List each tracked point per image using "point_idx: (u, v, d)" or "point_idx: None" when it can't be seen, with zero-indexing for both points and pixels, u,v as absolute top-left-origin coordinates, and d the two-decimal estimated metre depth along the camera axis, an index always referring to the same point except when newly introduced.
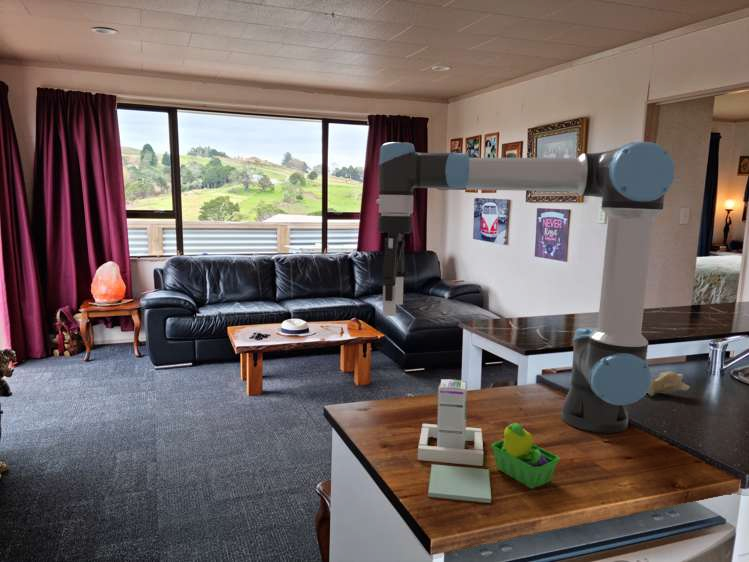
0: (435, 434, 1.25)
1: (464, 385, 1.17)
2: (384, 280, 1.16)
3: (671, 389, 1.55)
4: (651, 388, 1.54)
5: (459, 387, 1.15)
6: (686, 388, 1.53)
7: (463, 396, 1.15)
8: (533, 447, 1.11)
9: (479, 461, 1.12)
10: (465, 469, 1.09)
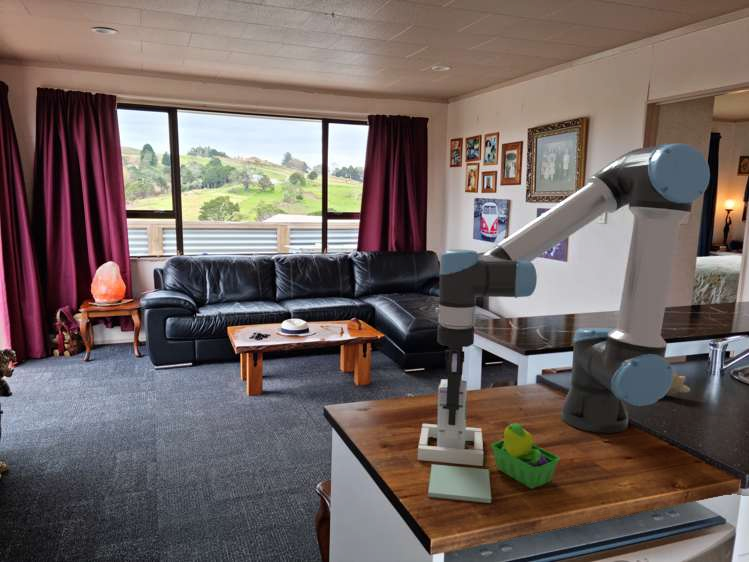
0: (435, 434, 1.25)
1: (464, 385, 1.17)
2: (448, 407, 1.12)
3: (671, 391, 1.53)
4: None
5: (459, 387, 1.15)
6: (687, 390, 1.52)
7: (463, 396, 1.15)
8: (533, 447, 1.11)
9: (479, 461, 1.12)
10: (465, 469, 1.09)
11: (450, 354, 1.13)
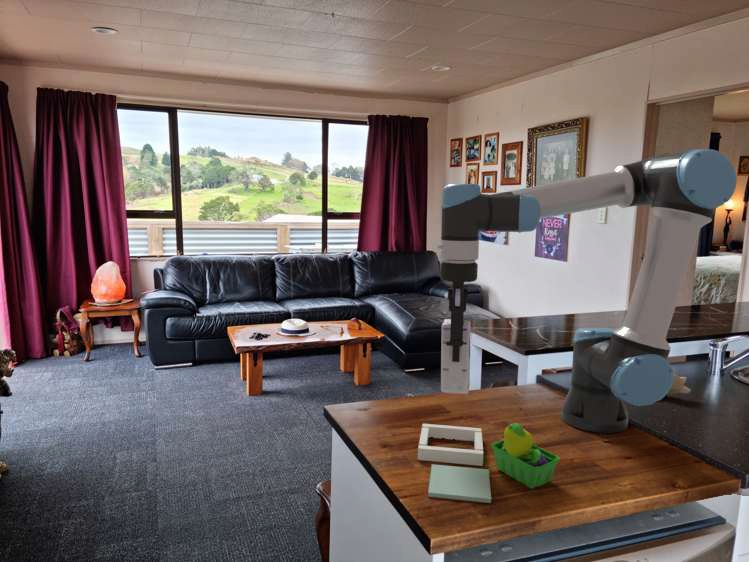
0: (435, 434, 1.25)
1: (468, 323, 1.15)
2: (452, 342, 1.10)
3: (671, 391, 1.53)
4: None
5: (463, 324, 1.13)
6: (687, 391, 1.51)
7: (467, 333, 1.13)
8: (533, 447, 1.11)
9: (479, 461, 1.12)
10: (465, 469, 1.09)
11: (453, 289, 1.11)
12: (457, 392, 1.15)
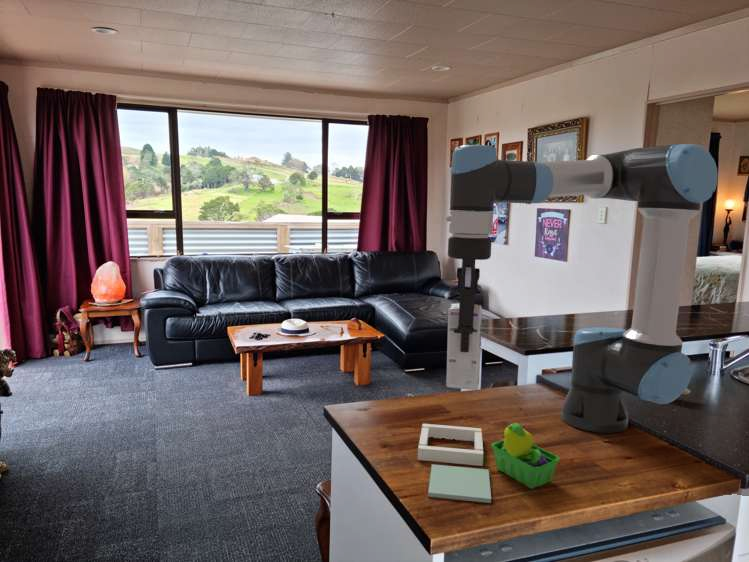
0: (435, 434, 1.25)
1: (479, 307, 1.00)
2: (461, 329, 0.95)
3: None
4: None
5: None
6: (686, 392, 1.50)
7: (478, 318, 0.97)
8: (533, 447, 1.11)
9: (479, 461, 1.12)
10: (465, 469, 1.09)
11: (463, 267, 0.96)
12: (465, 387, 1.00)
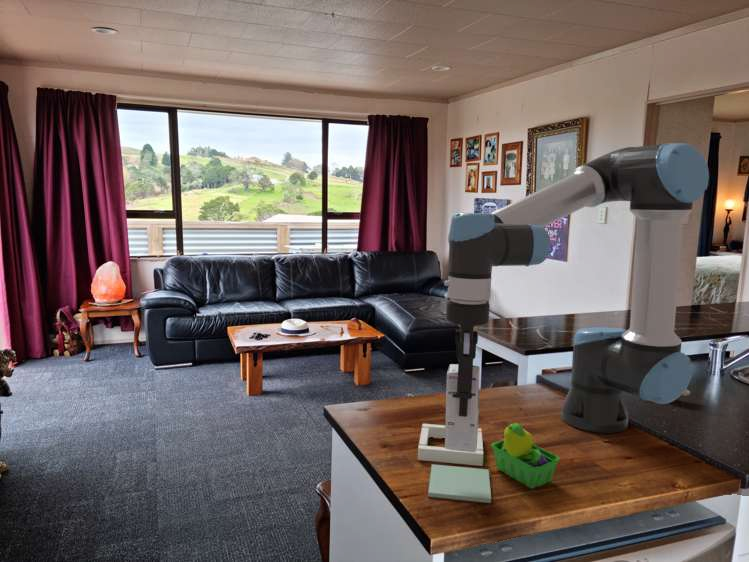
0: (435, 434, 1.25)
1: (477, 370, 1.01)
2: (460, 395, 0.95)
3: None
4: None
5: None
6: (686, 393, 1.49)
7: (476, 383, 0.98)
8: (533, 447, 1.11)
9: (479, 461, 1.12)
10: (465, 469, 1.09)
11: (461, 333, 0.97)
12: (463, 449, 1.01)
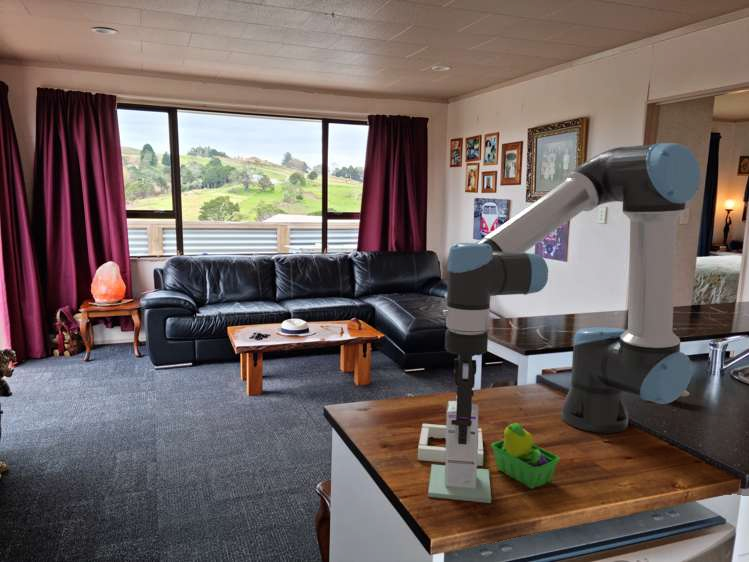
0: (435, 434, 1.25)
1: (476, 408, 1.02)
2: (459, 422, 0.93)
3: None
4: None
5: (471, 411, 1.00)
6: (685, 394, 1.48)
7: (475, 421, 0.99)
8: (533, 447, 1.11)
9: (479, 461, 1.12)
10: None
11: (460, 362, 0.98)
12: (463, 487, 1.01)
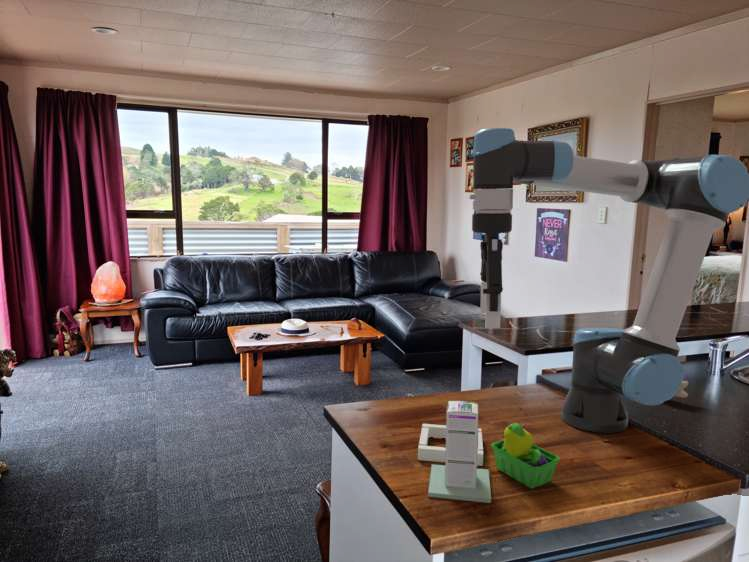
0: (435, 434, 1.25)
1: (476, 408, 1.02)
2: (491, 288, 1.00)
3: None
4: None
5: (471, 411, 1.00)
6: (683, 395, 1.48)
7: (475, 421, 0.99)
8: (533, 447, 1.11)
9: (479, 461, 1.12)
10: None
11: (488, 239, 1.05)
12: (463, 487, 1.01)
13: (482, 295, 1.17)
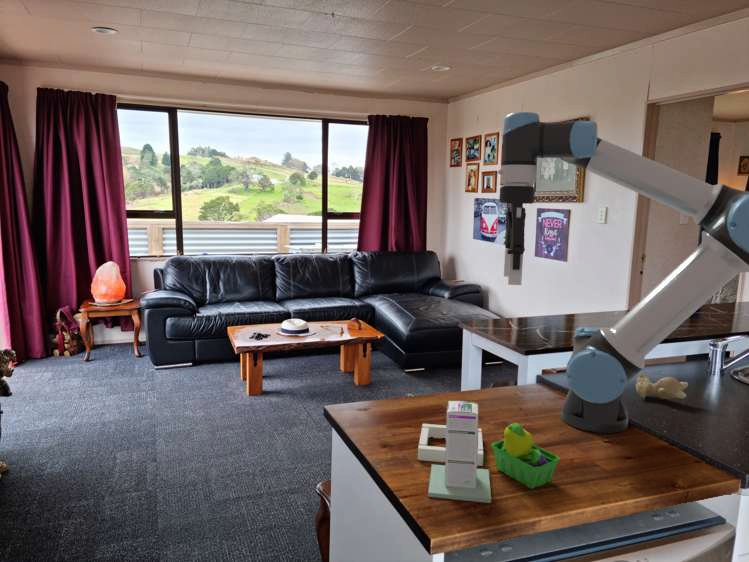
0: (435, 434, 1.25)
1: (476, 408, 1.02)
2: (514, 248, 1.17)
3: (667, 395, 1.50)
4: (644, 390, 1.52)
5: (471, 411, 1.00)
6: (682, 396, 1.47)
7: (475, 421, 0.99)
8: (533, 447, 1.11)
9: (479, 461, 1.12)
10: None
11: (513, 208, 1.22)
12: (463, 487, 1.01)
13: (506, 260, 1.33)
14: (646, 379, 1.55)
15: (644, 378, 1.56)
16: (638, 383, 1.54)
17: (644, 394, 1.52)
